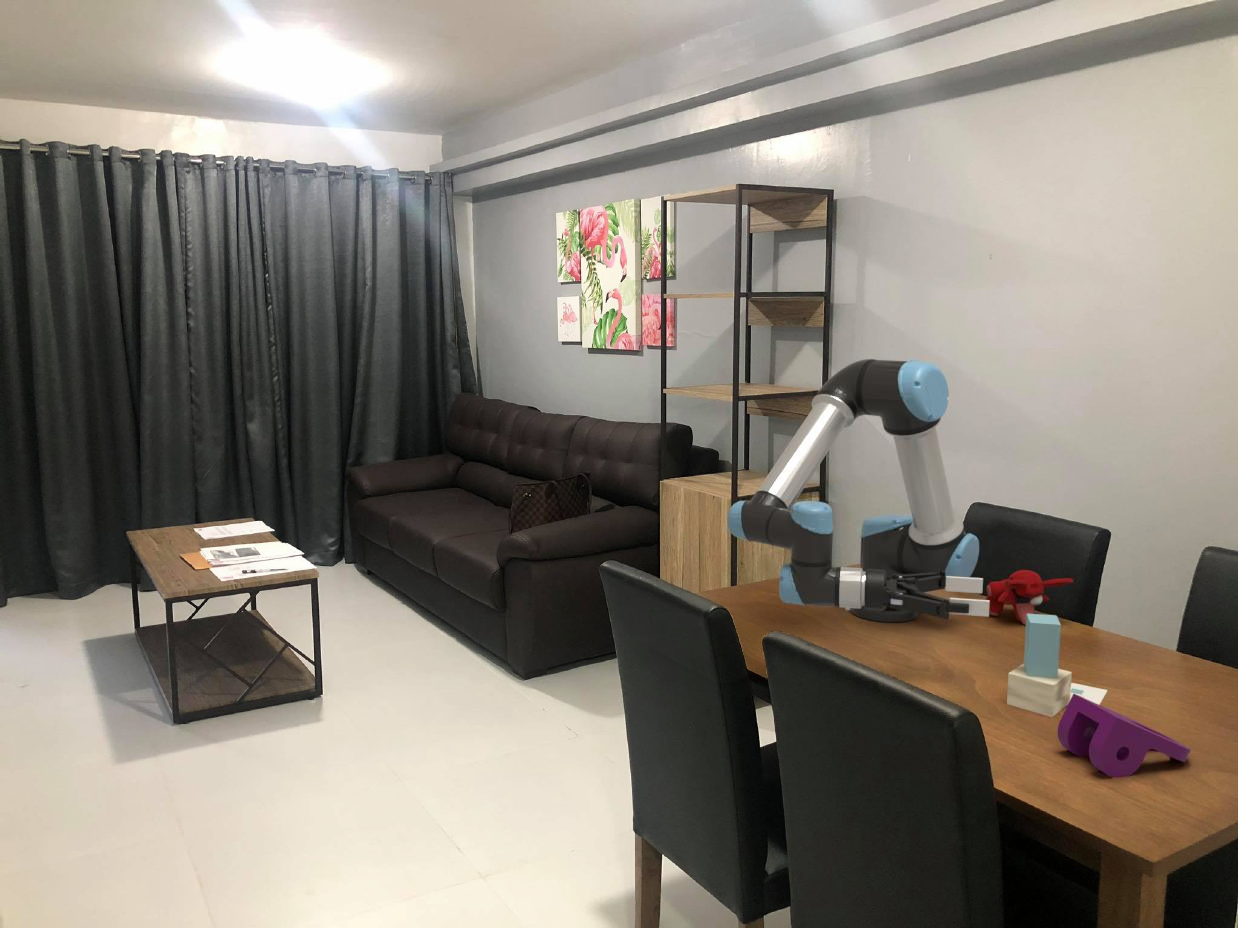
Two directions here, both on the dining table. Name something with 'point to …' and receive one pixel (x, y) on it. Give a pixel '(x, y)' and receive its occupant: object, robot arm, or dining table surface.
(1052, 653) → the teal brick
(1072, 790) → the dining table surface
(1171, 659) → the dining table surface
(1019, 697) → the birch base brick
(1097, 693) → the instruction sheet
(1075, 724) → the mounting bracket
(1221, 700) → the dining table surface
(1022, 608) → the toy
